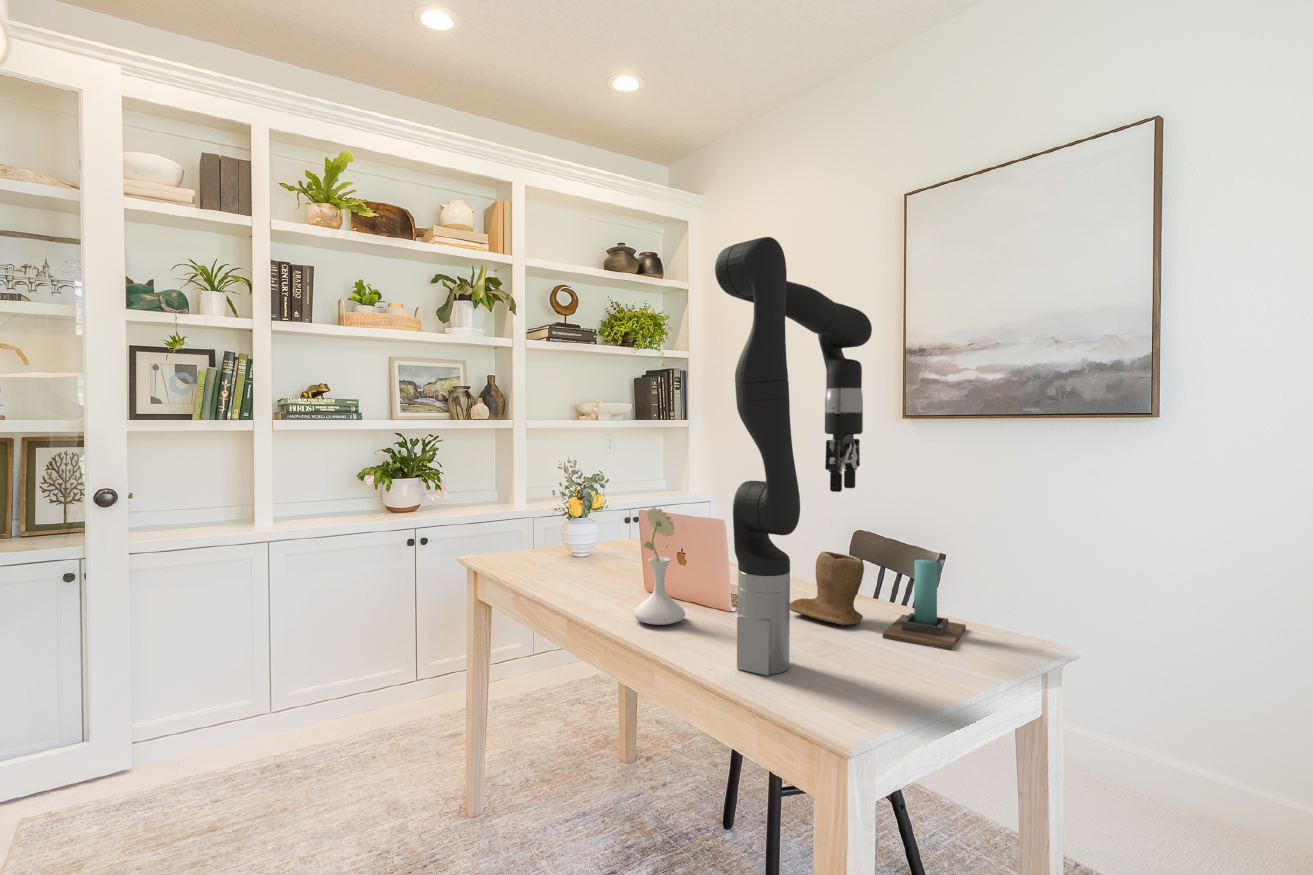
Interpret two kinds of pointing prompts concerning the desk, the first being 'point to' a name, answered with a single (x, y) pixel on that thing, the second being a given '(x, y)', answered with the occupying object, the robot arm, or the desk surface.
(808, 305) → the robot arm
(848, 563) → the brown hollow flared cylinder
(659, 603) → the flower in vase
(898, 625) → the walnut base board
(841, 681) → the desk surface
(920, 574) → the teal pillar
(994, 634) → the desk surface
